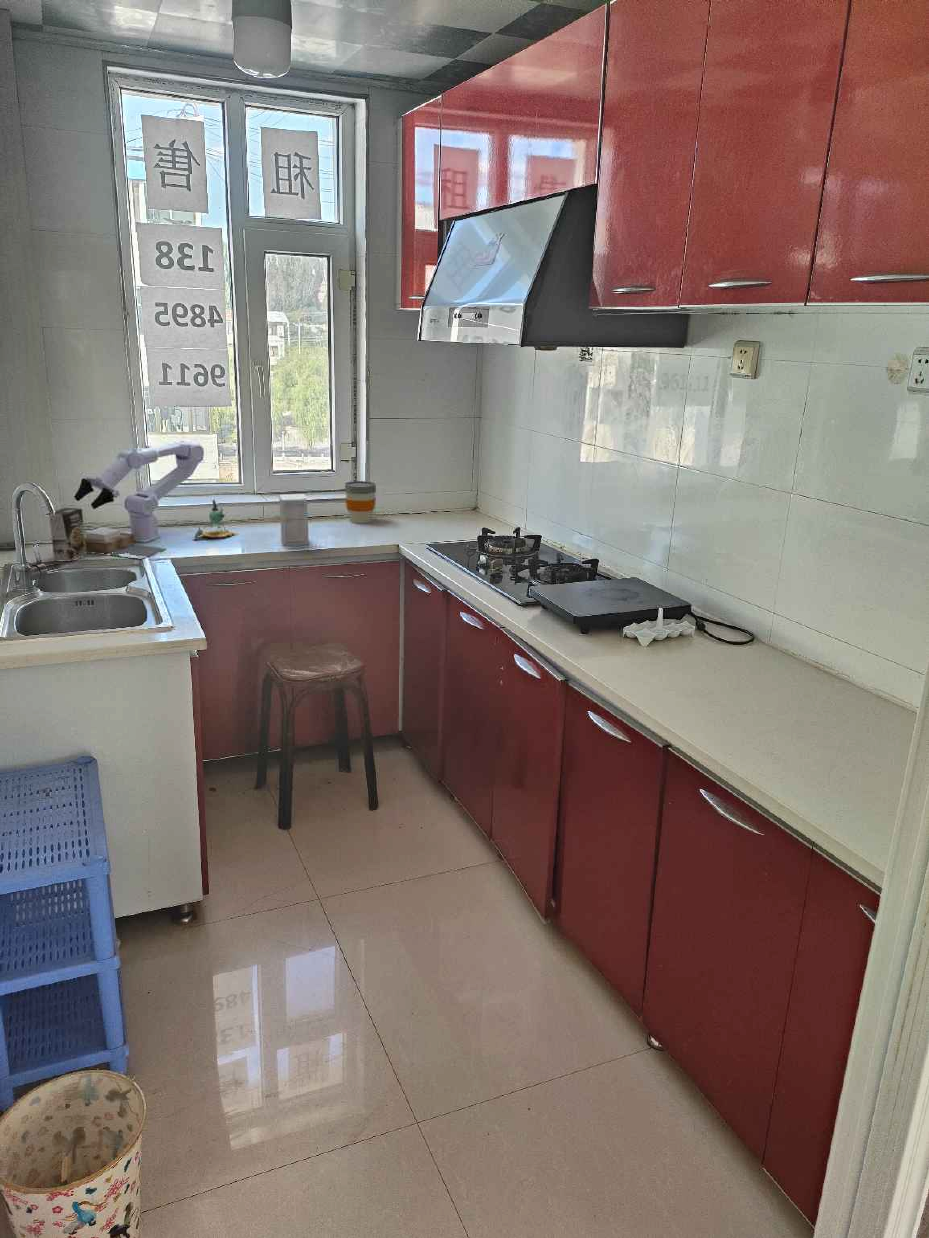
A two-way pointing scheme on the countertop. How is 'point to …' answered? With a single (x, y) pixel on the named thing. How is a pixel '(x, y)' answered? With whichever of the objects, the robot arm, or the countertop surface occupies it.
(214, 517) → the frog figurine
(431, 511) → the countertop surface
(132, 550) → the mat
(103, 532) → the tile
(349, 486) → the reusable coffee cup
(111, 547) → the flat brown box
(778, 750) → the countertop surface
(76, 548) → the coffee box
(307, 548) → the countertop surface
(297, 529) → the supplement box
